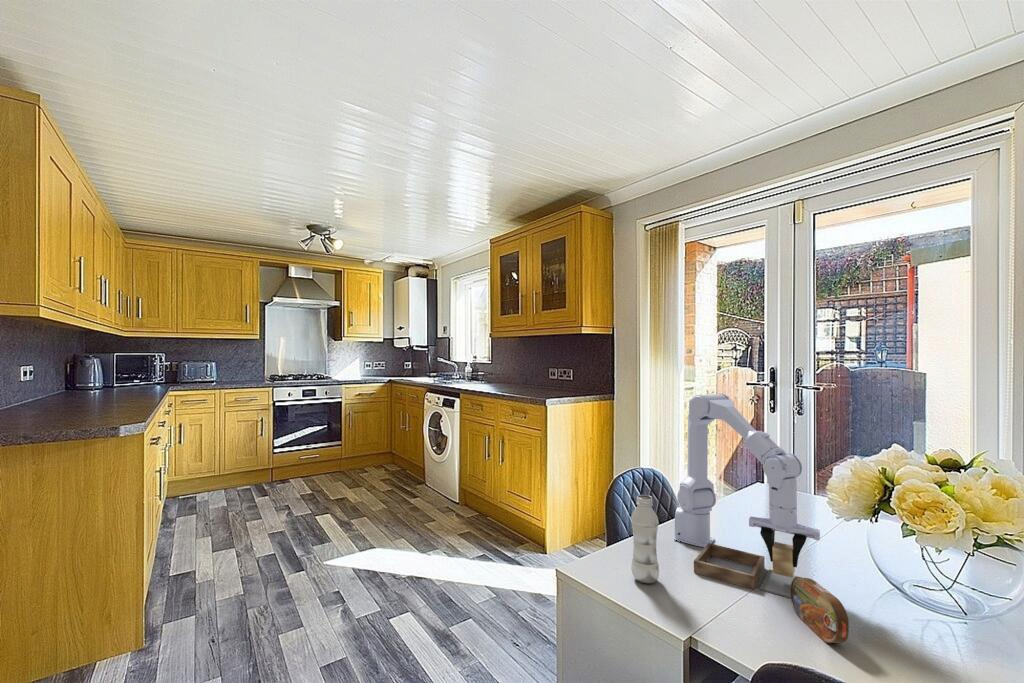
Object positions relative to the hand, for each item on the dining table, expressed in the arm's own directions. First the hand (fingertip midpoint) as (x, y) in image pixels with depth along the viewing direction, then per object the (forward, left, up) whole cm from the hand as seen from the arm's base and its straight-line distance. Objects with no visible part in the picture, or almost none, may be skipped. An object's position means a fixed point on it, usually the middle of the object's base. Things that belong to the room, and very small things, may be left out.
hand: (783, 562), depth 110 cm
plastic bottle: (-27, -18, -5) cm, 33 cm away
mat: (0, 0, -5) cm, 5 cm away
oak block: (0, 0, -2) cm, 2 cm away
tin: (+8, -16, -6) cm, 19 cm away
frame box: (-12, 0, -5) cm, 13 cm away
